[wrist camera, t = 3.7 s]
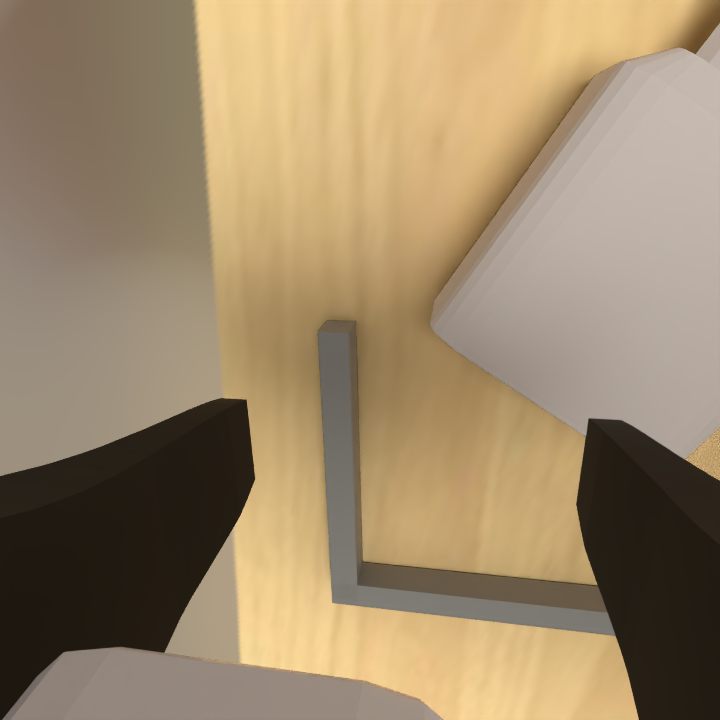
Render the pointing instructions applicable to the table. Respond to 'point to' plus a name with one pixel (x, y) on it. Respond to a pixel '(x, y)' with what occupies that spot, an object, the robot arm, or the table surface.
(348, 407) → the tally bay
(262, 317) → the table surface
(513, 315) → the charger
